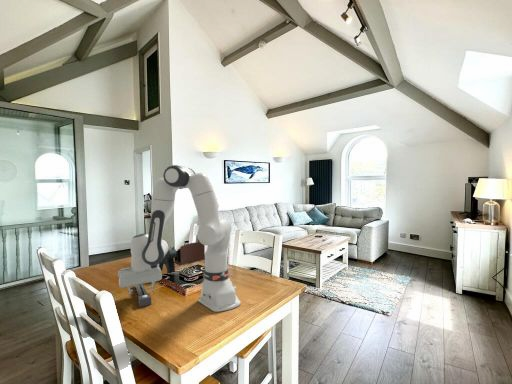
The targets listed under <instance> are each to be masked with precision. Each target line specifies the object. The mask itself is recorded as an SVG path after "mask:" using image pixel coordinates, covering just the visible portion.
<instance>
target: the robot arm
mask: <svg viewBox="0 0 512 384" xmlns="http://www.w3.org/2000/svg"><path fill="white" fill-rule="evenodd" d="M162 175H163V177H159V178H158V179H157V180H156V181H155V183H154V186H153V189H152V195H151V196H152V197H151V206H150V207H151V208H150V211H151V212H150V214H151V215H150V223H149V229H148V233H145V232H144V233H140V234H137V235H134V236H133V237H132V238H131V240H130V241H131V242H130V253H131V254H130V255H131V258H130V266H131V267H130V266H129V267H122V268H121V269H119V270H118V271H117V277H118V278H119V279H118V286H119V288H121V289H122V288H126V290H127V291H129V296H131V295H133V294H134V293H133V292H134V290H133V289H131V287H132V286H133V287H134V286H135V285H138V284H143V285H145V284H148V283H151V284H150V285H149V286H148V290H149V291H153V290H154V285H155V284H156V282H159V281H161V280H162V278H163V276H162V270H161V269H160V268H159V263H160V262H161V261H162V260H163V258H164V256H165V255H166V253H167V252H168V250H169V248H170V247H169V243H167V242H168V241H166V240H165V239H163V235H164V234H163V233H164V228H165V225H166V222H167V220H168V219H169V218H170V216H171V215H172V213H173V210H174V208H175V207H174V206H175V198H176V192H177V191H178V190H183V189H188V190H189V191H190V194H191V197H192V200H193V203H194V206H195V209H196V213H197V220H198V221H197V223H198V230H197V233H196V235H197V240H198V242H200V243H202V244H203V245H205V246H206V249H205V259H204V270H203V277H204V278H203V281H202V282H201V291H200V297H199V298H198V299H197V301H198V302H199V303H200V304H201V305H203V306H205V307H206V308H208V309H209V310H211V311H213V312H215V313H216V312H225V311H229V310H233V309H235V308H237V307H239V306H241V304H242V303H241V300H240V299H239V297H238V296H237V295H236V291H237V286H235V285H234V286H233V281H232V280H231V279H230V273H229V269H228V250H229V249H228V248H229V243H230V237H231V232H232V224H231V222H230V221H229V220H228V219H227V218H220V217H219V202H218V199H217V196H216V193H215V190H214V188H213V185H212V183H211V181H210V179H209V177H208V176H207V174H206V173H203V172H195V171H194V170H193V169H192V168H189V167H186V166H183V165H179V164H178V165H177V164H172V165H170V166H168V167H166V169H165V170H164V171H163V174H162Z"/></svg>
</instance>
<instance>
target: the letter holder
mask: <svg viewBox="0 0 512 384" xmlns="http://www.w3.org/2000/svg"><path fill="white" fill-rule="evenodd" d="M205 246H206V245H203V244H202V243H200V241H198V242H197V241H196V242H191V243H187V244H184V245H181V246H180V247H179V248H178V249H177V250H176V257H175V258H174V263H175V264H178V265H180V266H182V265H187V264H190V263H191V264H192V263H195V262H199V261H203V260H204V261H205V252H206V249H205Z"/></svg>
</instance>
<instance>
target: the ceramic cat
mask: <svg viewBox="0 0 512 384" xmlns="http://www.w3.org/2000/svg"><path fill="white" fill-rule="evenodd" d="M166 242H167V243H168V241H166ZM168 244H169V243H168ZM176 251H177V250H176V249H175V246H173V247H172V246H170V247H169V250H168V252H167V253H166V255H165V256H164V258H163V260H162V261H161V262H160V263H159V268H160V269H161V271H163V270H164V265H165V268H166V271H167V272H166V273H171V272H175V273H176V265H175V264H176V263H175V262H174V258H175V257H176Z"/></svg>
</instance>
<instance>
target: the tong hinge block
mask: <svg viewBox="0 0 512 384" xmlns="http://www.w3.org/2000/svg"><path fill="white" fill-rule="evenodd" d="M150 294H151V293H147V295H142V296H138V295H137V296H138V297H137V299H138V306H139V308H143V307H146V306H150V305H152V296H151V295H150Z"/></svg>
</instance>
